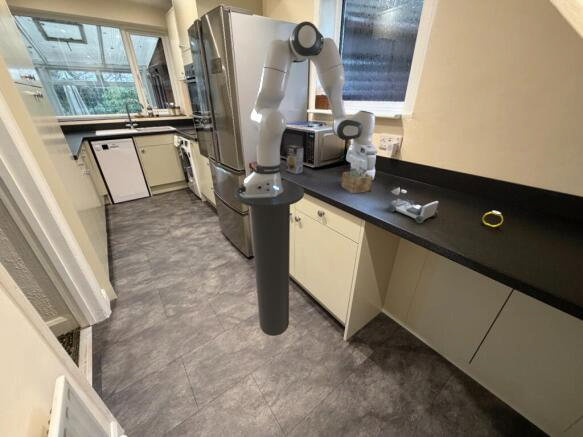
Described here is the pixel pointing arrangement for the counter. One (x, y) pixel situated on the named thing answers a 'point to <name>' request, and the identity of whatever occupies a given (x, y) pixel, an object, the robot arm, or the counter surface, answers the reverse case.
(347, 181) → the box
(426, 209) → the toy car
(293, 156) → the coffee box
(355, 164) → the syrup box
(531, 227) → the counter surface
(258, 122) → the robot arm
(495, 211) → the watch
